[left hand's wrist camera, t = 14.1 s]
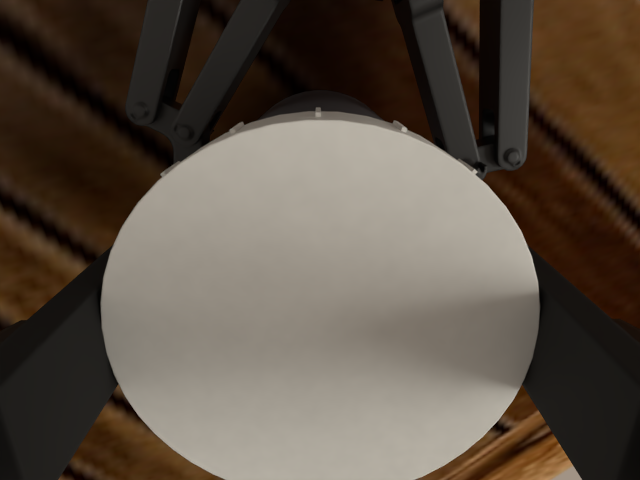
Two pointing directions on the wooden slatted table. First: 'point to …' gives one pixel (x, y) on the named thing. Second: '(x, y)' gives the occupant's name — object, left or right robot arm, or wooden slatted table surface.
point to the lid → (320, 303)
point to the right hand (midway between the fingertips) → (309, 288)
